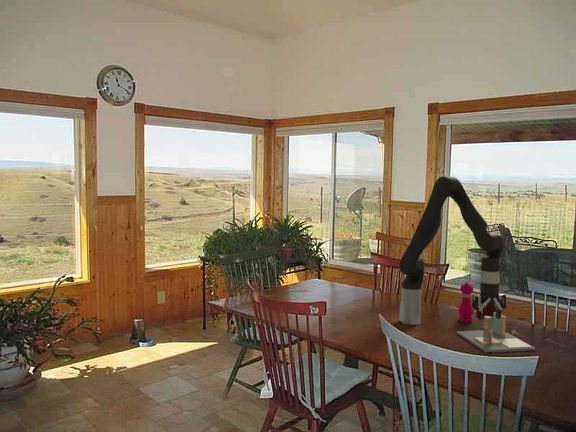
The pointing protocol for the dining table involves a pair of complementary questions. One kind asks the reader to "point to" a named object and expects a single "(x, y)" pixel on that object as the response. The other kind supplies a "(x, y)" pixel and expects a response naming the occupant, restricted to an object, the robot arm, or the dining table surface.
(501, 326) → the tile
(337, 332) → the dining table surface
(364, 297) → the dining table surface
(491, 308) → the muffin
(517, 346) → the plate
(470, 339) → the mat
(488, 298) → the robot arm
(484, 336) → the square plate with post
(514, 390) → the dining table surface
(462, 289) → the pepper mill
